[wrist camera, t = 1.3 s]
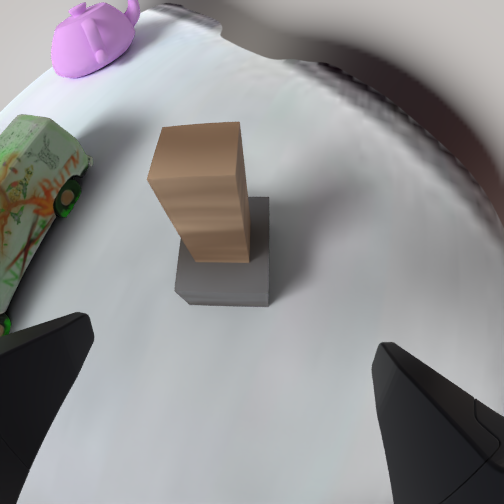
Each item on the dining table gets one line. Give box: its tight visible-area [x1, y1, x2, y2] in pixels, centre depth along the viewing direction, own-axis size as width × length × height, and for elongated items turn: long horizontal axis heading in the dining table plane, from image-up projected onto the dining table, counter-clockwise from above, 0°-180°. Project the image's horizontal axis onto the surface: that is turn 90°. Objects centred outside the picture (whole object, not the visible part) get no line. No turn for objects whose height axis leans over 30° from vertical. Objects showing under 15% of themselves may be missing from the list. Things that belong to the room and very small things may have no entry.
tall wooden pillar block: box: [147, 122, 269, 307], centre depth 17 cm, size 7×6×13 cm
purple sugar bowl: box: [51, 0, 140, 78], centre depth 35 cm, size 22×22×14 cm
